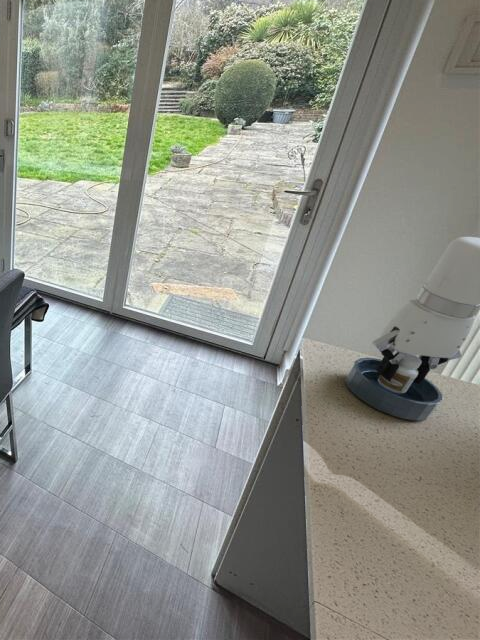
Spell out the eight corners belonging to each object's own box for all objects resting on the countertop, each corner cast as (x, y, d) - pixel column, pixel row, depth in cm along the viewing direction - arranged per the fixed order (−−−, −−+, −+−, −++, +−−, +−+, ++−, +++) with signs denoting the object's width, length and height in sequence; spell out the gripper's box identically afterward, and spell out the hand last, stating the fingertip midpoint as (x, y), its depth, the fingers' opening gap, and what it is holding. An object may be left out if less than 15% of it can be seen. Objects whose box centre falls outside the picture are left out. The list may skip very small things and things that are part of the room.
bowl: (397, 380, 91) (409, 362, 88) (447, 427, 79) (462, 409, 77) (331, 371, 93) (340, 353, 91) (370, 416, 81) (382, 397, 79)
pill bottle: (372, 382, 86) (390, 353, 82) (383, 376, 87) (402, 348, 84) (398, 396, 82) (418, 367, 79) (410, 390, 84) (430, 361, 80)
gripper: (482, 297, 77) (430, 371, 86) (380, 286, 80) (339, 358, 88) (521, 320, 71) (461, 397, 79) (409, 307, 73) (362, 383, 82)
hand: (397, 376), depth 83 cm, fingers closed on pill bottle, 4 cm apart
